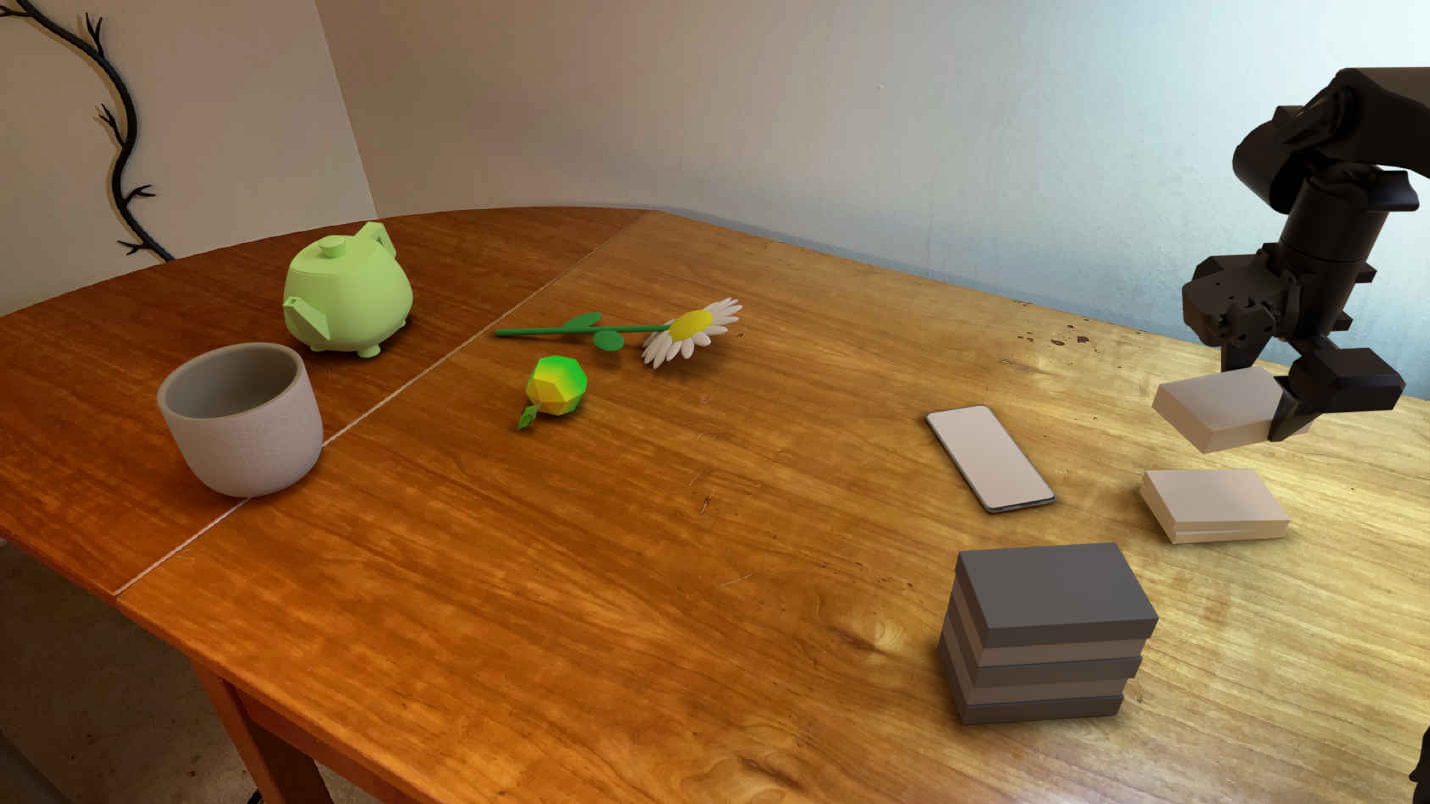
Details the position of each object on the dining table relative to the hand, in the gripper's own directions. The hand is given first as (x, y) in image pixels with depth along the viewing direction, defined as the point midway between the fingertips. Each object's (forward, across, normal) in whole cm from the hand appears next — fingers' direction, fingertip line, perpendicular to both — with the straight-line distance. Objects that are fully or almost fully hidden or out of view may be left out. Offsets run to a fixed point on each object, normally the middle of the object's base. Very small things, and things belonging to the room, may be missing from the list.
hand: (1249, 413), depth 75 cm
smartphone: (+12, -10, -17) cm, 23 cm away
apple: (+13, -21, -60) cm, 65 cm away
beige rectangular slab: (+12, -1, +1) cm, 12 cm away
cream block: (0, 0, -2) cm, 2 cm away
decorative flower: (+12, -33, -54) cm, 65 cm away
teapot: (+12, -38, -85) cm, 94 cm away
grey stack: (+12, +16, -22) cm, 30 cm away
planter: (+12, -14, -88) cm, 90 cm away
